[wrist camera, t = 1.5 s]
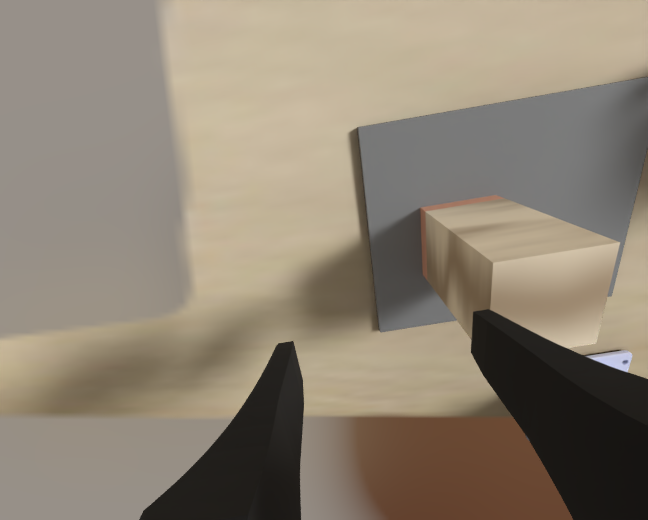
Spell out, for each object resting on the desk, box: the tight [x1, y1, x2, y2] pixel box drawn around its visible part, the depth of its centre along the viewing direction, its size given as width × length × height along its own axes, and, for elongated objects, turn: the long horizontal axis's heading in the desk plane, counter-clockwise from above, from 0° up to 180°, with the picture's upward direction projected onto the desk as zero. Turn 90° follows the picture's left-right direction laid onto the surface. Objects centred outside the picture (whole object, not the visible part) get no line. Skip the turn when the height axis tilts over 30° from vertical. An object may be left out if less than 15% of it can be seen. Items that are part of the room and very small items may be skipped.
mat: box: [357, 77, 648, 332], centre depth 22 cm, size 15×18×1 cm
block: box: [420, 195, 620, 348], centre depth 18 cm, size 5×5×9 cm
